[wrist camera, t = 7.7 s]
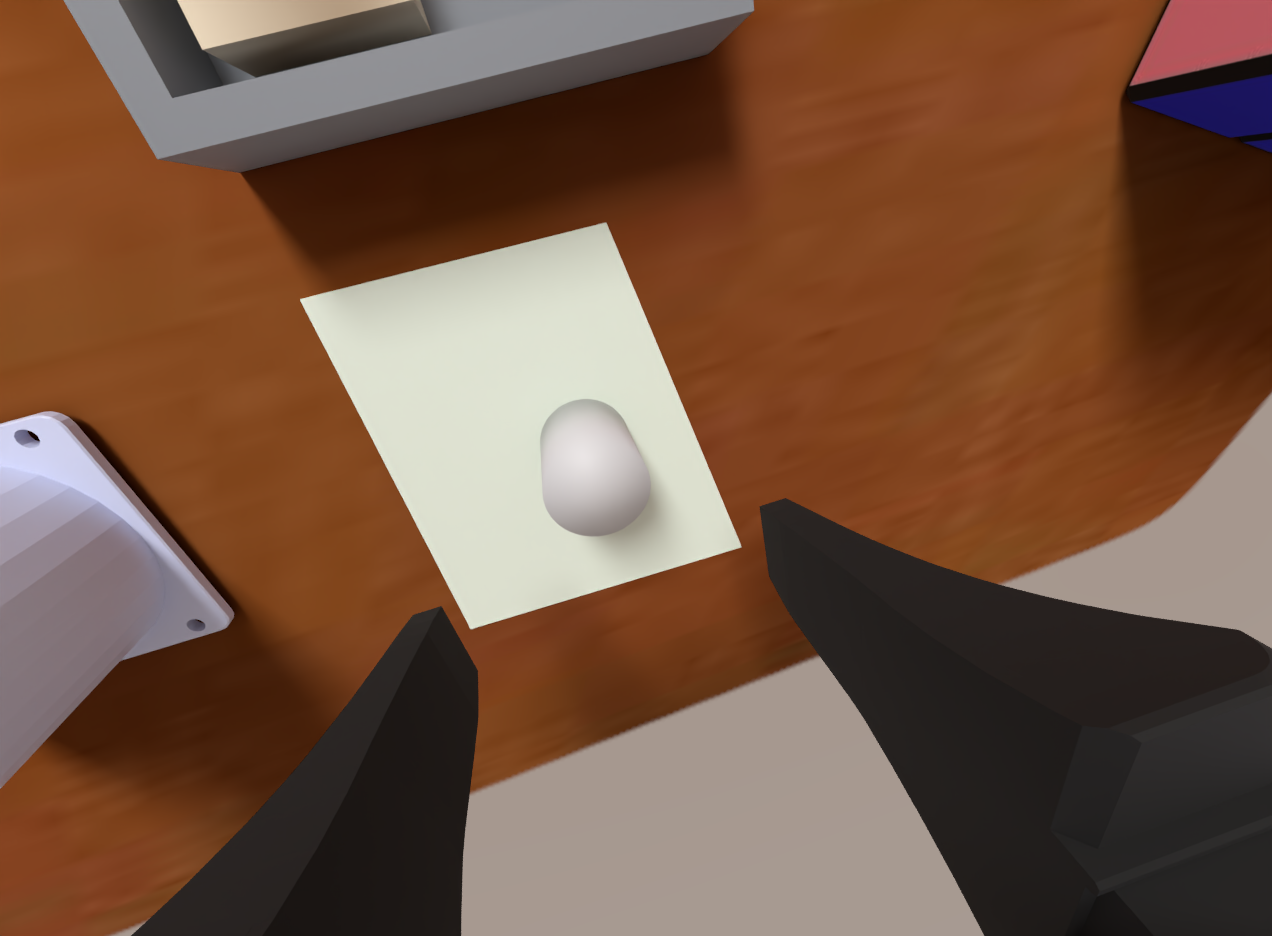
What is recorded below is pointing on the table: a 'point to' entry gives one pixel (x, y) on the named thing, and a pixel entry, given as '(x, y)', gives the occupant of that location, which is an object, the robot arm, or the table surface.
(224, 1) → the beech block
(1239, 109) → the puzzle cube
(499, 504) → the lid
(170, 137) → the box
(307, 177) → the table surface
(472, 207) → the table surface
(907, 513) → the table surface
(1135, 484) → the table surface
